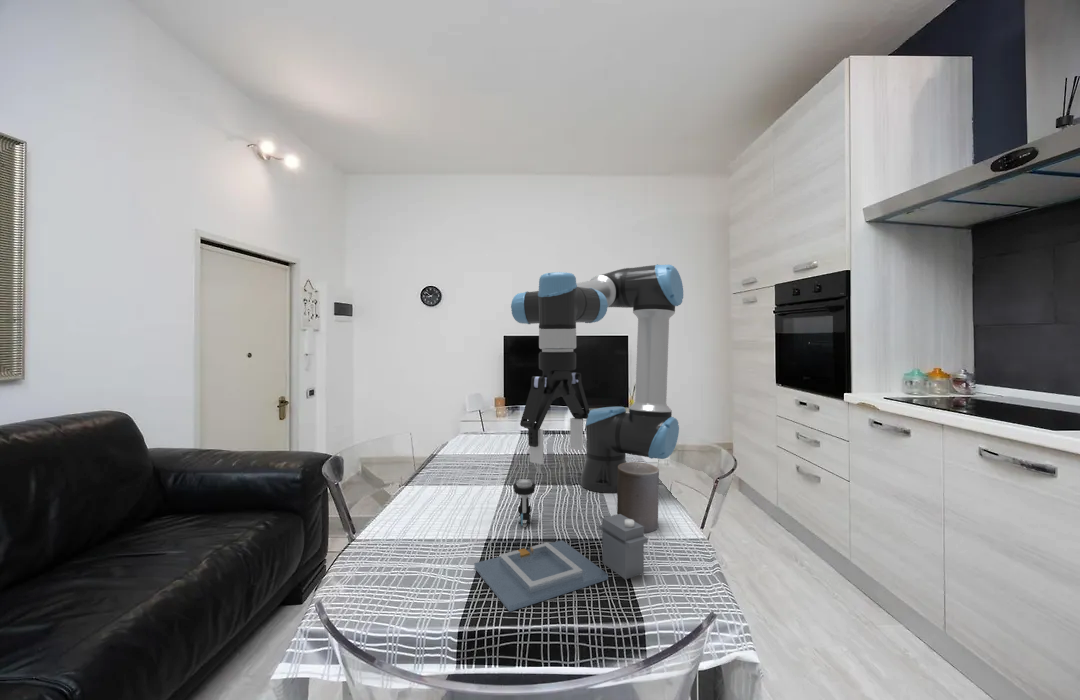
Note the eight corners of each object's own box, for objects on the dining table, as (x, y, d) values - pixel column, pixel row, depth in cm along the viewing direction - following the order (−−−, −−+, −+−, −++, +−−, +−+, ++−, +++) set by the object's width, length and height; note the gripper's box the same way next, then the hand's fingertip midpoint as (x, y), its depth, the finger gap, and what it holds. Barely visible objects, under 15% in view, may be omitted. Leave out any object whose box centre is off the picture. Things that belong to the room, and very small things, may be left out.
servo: (616, 555, 93) (616, 507, 93) (647, 576, 85) (647, 523, 85) (599, 560, 91) (599, 511, 91) (629, 582, 83) (629, 528, 83)
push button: (535, 529, 106) (535, 486, 106) (512, 529, 106) (512, 486, 106) (535, 517, 113) (535, 477, 112) (514, 517, 113) (513, 477, 112)
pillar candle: (608, 525, 108) (609, 462, 107) (630, 512, 115) (631, 454, 114) (645, 537, 101) (646, 471, 101) (666, 524, 108) (667, 461, 108)
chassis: (561, 544, 98) (561, 534, 98) (608, 579, 84) (608, 567, 84) (474, 567, 88) (473, 556, 88) (509, 612, 74) (509, 598, 74)
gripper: (576, 349, 104) (576, 441, 104) (500, 351, 84) (501, 466, 85) (605, 349, 99) (605, 446, 100) (532, 352, 80) (532, 473, 80)
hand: (557, 455), depth 92 cm, fingers open, 13 cm apart
